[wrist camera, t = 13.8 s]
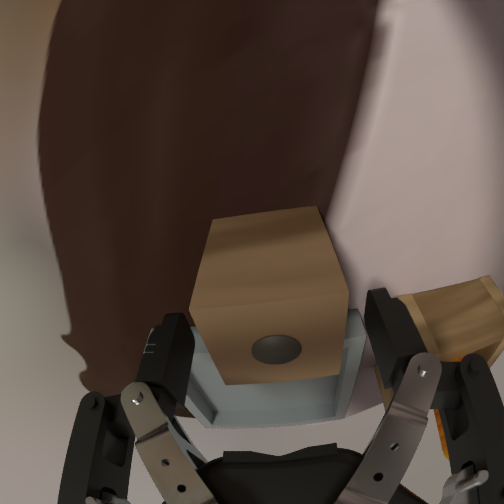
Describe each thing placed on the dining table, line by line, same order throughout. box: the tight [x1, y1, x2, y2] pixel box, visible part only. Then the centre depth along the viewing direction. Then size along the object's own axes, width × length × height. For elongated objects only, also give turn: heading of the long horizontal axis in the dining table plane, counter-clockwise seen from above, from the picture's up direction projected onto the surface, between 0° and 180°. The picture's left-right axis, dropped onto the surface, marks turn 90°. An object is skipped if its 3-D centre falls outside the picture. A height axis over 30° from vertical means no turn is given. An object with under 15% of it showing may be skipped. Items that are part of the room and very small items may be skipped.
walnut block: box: [189, 206, 349, 385], centre depth 12 cm, size 5×5×6 cm
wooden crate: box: [375, 276, 504, 412], centre depth 16 cm, size 9×9×5 cm
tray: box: [143, 309, 366, 428], centre depth 21 cm, size 14×14×2 cm
